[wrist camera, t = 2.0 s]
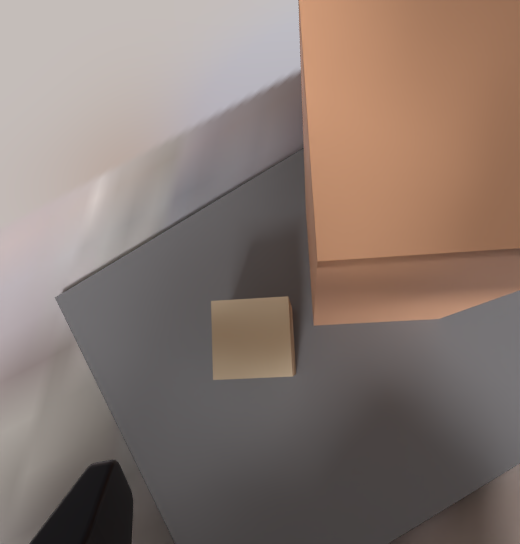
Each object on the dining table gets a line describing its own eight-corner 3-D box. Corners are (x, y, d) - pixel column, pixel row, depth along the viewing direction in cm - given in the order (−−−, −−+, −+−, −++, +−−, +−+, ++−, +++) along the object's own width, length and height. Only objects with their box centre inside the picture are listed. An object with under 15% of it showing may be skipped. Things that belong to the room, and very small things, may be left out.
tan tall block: (438, 319, 21) (665, 237, 8) (313, 325, 22) (317, 260, 8) (424, 200, 22) (601, -55, 9) (305, 209, 23) (297, -18, 9)
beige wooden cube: (296, 373, 22) (292, 376, 18) (232, 376, 22) (212, 380, 18) (292, 309, 23) (288, 296, 18) (230, 313, 23) (211, 300, 19)
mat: (433, 74, 24) (436, 68, 24) (664, 369, 20) (673, 369, 20) (60, 299, 24) (54, 297, 23) (226, 637, 20) (223, 643, 20)
